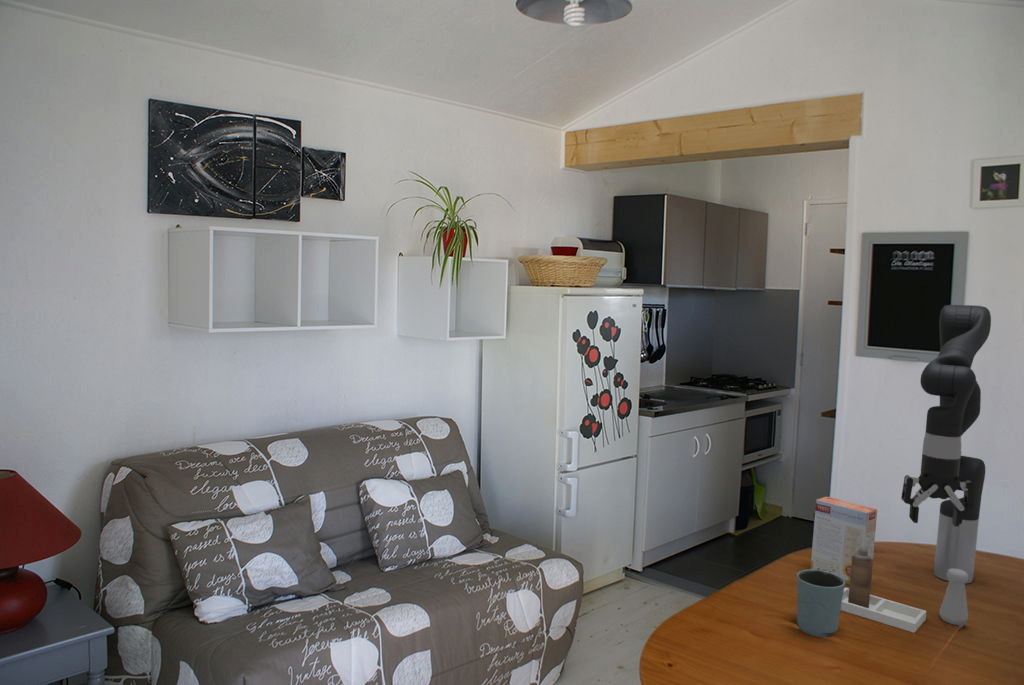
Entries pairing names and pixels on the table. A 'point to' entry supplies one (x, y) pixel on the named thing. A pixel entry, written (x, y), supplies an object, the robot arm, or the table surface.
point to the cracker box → (841, 535)
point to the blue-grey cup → (819, 601)
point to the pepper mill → (860, 578)
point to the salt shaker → (955, 599)
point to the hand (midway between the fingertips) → (934, 523)
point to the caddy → (886, 612)
